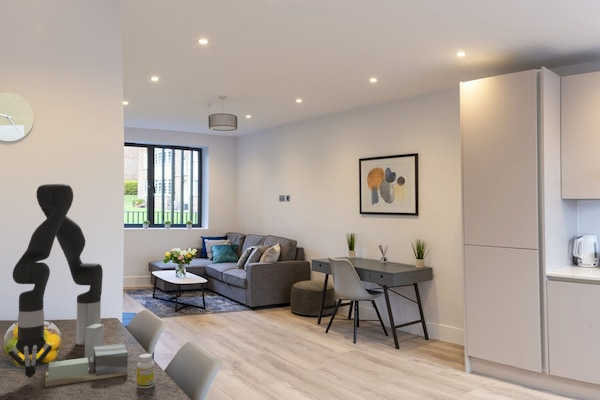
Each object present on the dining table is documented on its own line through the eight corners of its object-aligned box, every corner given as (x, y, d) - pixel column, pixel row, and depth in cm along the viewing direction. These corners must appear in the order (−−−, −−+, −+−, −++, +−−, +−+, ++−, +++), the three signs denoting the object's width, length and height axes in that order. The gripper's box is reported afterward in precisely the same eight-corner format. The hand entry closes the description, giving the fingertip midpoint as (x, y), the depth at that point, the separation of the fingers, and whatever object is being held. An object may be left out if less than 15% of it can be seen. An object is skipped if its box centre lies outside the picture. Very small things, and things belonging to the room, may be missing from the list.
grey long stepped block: (45, 374, 163) (46, 352, 163) (123, 364, 174) (123, 343, 174) (44, 386, 152) (45, 362, 152) (127, 374, 164) (127, 352, 164)
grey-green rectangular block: (48, 374, 161) (48, 362, 161) (92, 368, 167) (92, 356, 167) (48, 379, 156) (48, 367, 156) (93, 373, 162) (93, 361, 162)
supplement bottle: (139, 382, 156) (139, 352, 156) (156, 382, 157) (156, 352, 157) (134, 389, 151) (135, 358, 151) (152, 388, 151) (152, 357, 151)
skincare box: (94, 360, 179) (94, 328, 179) (84, 359, 179) (84, 327, 180) (104, 355, 184) (104, 324, 185) (94, 354, 185) (94, 323, 185)
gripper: (6, 328, 150) (5, 383, 150) (53, 324, 156) (53, 377, 156) (8, 323, 156) (7, 376, 156) (53, 318, 162) (53, 370, 162)
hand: (30, 376), depth 156 cm, fingers closed
